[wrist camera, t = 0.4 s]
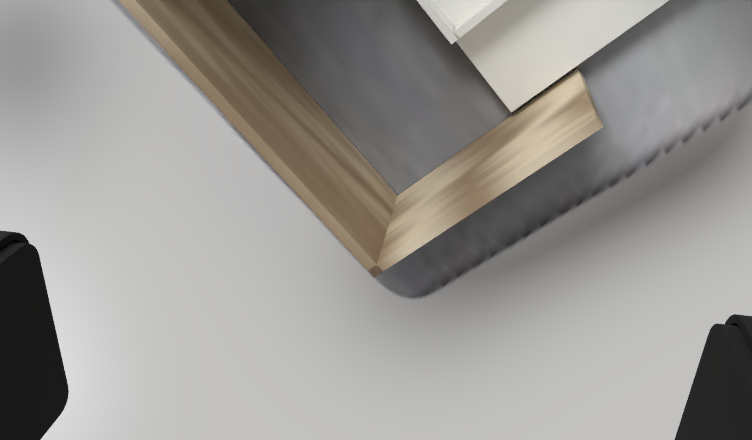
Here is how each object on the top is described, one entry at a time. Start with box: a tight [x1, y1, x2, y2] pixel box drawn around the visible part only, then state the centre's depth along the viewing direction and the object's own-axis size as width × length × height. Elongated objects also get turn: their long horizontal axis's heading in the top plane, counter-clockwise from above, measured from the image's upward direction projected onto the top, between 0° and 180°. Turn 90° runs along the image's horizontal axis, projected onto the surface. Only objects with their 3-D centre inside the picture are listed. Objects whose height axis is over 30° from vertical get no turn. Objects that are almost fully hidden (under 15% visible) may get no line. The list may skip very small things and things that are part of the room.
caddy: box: [119, 0, 604, 277], centre depth 32 cm, size 13×20×8 cm, turn 40°
